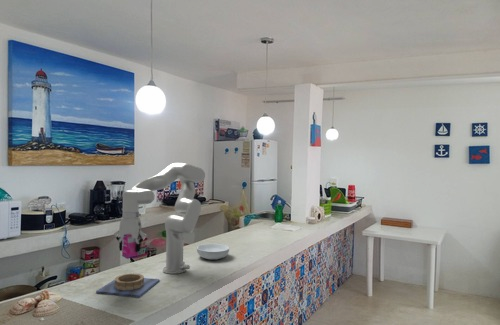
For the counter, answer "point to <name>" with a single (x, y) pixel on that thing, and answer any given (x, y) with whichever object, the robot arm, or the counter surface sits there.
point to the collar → (128, 285)
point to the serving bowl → (212, 251)
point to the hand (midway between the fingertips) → (129, 250)
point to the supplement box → (129, 247)
